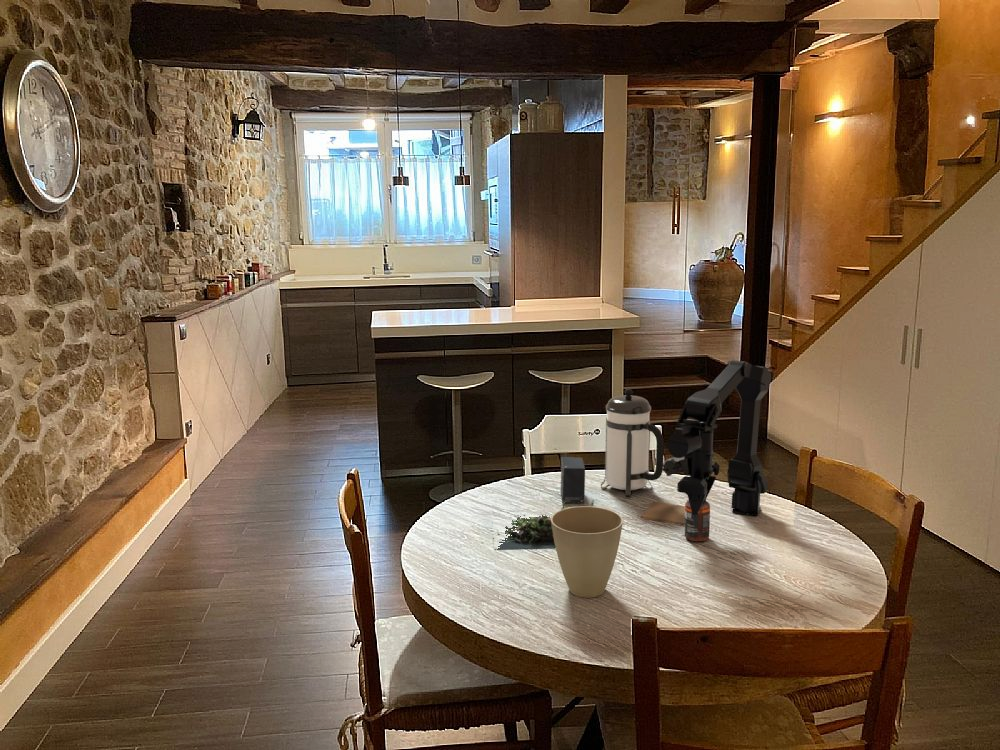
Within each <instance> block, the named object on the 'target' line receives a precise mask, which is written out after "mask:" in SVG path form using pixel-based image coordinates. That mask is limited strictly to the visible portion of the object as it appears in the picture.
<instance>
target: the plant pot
mask: <svg viewBox="0 0 1000 750" xmlns="http://www.w3.org/2000/svg"><path fill="white" fill-rule="evenodd" d="M569 507H570V508H566V509H562V508H561V509H562V510H561V509H559V510H558V511H556V512H555V513H553V514H552V515H551V525H552V531H553V537H554V542H555V547H556V548H555V552H556V556H557V558H558V562H559V566H560V568H561V572H562V574H563V577H564V580H565V582H566V585H567V587H568V589H569V592H570V593H571V594H572V595H574V596H576V597H580V598H585V599H586V598H587V599H589V598H596V597H599V596H601V595H603V594H604V592H605V590H606V588H607V585H608V582H609V579H610V578H611V574H612V572H613V568H614V565H615V562H616V558H617V555H618V552H619V551H618V550H619V546H620V542H621V541H620V540H621V535H622V529H623V524H624V519H623V517H622V516H621V515H620V514H619V513H617V512H616V511H614V510H611V509H608V508H604V507H599V506H591V505H589V506H587V505H585V506H582V505H580V506H569Z"/></svg>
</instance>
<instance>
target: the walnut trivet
mask: <svg viewBox="0 0 1000 750" xmlns="http://www.w3.org/2000/svg"><path fill="white" fill-rule="evenodd" d="M642 518H643V520H651V521H656V522H660V521H661V523H666V522H667V524H672V523H674V524H673V525H678V524H680V525H679V526H684V525H685V505H679V504H673V503H667V502H661V501H660V502H659V501H653V502H651V504H650V505H649V506H648V507H647V508H646V510H645V511H644V512H643V513H642V514H641V516H640V519H642Z"/></svg>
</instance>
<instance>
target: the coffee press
mask: <svg viewBox="0 0 1000 750" xmlns="http://www.w3.org/2000/svg"><path fill="white" fill-rule="evenodd" d="M633 393H634V392H633V390H632V389H631V388H629V387H628V388H626V389H625V390H624V394H625V395H624V394H623V395H617V396H614V397H612V398H610V399H609V400H608V402H607V404H605V410H606V418H605V435H606V442H605V453H604V454H605V457H604V458H605V459H604V462H605V463H604V479H603V481H602V482H601V484H600V488H601V490H605V489H607V488H608V487H611V488H614V489H617V490H623V491H625V498H631V497H632V491H636V490H639V489H642V488H646V489H647V490H648V491H651V490H653V485H652V483H651V482H650V481H657V480H658V479H659V478H660V477H662V474H663V472H664V471H663V463H664V449H665V448H664V445H665V442H664V437H663V434H662V431H661V429H660V428H659V427H658V426H656V425H655V424H652V423H651V419H650V413H651V411H652V405H650V402H649V401H648V400H647V399H646V398H644V397H642V396H639V395H633ZM651 432H652V434H653V435H654V437H655V440H656V452H655V453H656V457H655V471H654V473H653V474H652V473H650V440H651V438H650V436H651ZM605 482H606V483H607V484H606V485H605V486H603V485H604V484H605ZM648 483H649V485H650V487H647V484H648Z"/></svg>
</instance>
